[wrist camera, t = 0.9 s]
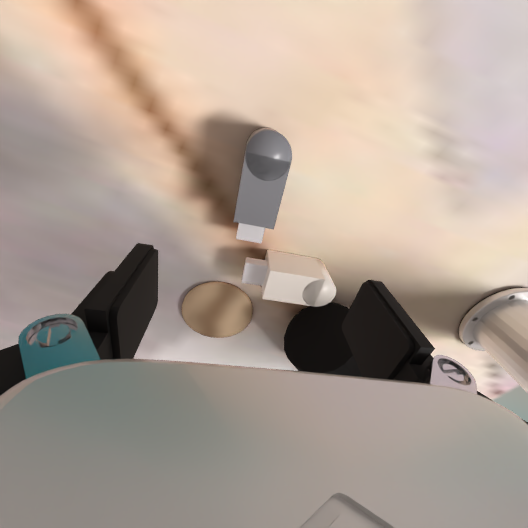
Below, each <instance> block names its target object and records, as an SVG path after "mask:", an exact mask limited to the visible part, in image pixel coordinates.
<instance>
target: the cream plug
mask: <svg viewBox="0 0 528 528" xmlns="http://www.w3.org/2000/svg"><path fill="white" fill-rule="evenodd" d="M242 283H247V284H254V285H260V286H261V287H262V299H266V300H273V301H280V302H287V303H294V304H300V305H307V306H315V307H319V306H324V305H326V304H328V303H330V302H331V301H332V300H333V299H334V297H335V295H336V287H335V285H334V283H333V281H332V279H331V277H330V275H329V273H328V271H327V269H326V267H325V265H324V263H323V262H322V261H321V260H320V259H318V258H313V257H308V256H302V255H296V254H291V253H285V252H279V251H273V250H268V249H267V253H266V257H265V260H261V259H255V258H249V257H246V260H245V264H244V269H243V274H242Z"/></svg>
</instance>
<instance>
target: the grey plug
mask: <svg viewBox="0 0 528 528" xmlns="http://www.w3.org/2000/svg"><path fill="white" fill-rule="evenodd" d="M291 160H292V151H291V147H290V144H289V142H288V141H287V140H286V138H285V137H284V136H283V135H281V134H280V133H278V132H277V131H275V130H273V129H271V128H260V129H258V130H256V131H254V132H253V133H252V134H251V135H250V137H249V139H248V141H247V144H246V149H245V155H244V161H243V167H242V173H241V179H240V185H239V190H238V196H237V202H236V208H235V216H234V222H237V223H239V224H238V229H237V236H236V239H240V240H245V241H251V242H256V243H262V239H263V235H264V230H265V228H269V229H274V226H275V222H276V218H277V214H278V211H279V207H280V203H281V199H282V195H283V191H284V188H285V184H286V180H287V176H288V172H289V169H290V165H291Z"/></svg>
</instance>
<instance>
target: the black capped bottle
mask: <svg viewBox="0 0 528 528" xmlns="http://www.w3.org/2000/svg"><path fill="white" fill-rule="evenodd" d="M348 311H349V309H348V308H347V307H344V306H342V305H340V304H337V303H331V302H330V303H328V304H326V305H324V306H319V307H315V306H309V307H307V308H305V309H303V310H302V311H300V312H299V313H298V314H297V315H296V316H295V317H294V318H293V319H292V321H291V322H290V323H289V325H288V328H287V330H286V333H285V336H284V350H285V353H286V355H287V357H288V359H289V360H290V361H291V363H292V364H293V365H294V366H295V367H296V368H297V369H298V371H301V372H313V373H324V374H335V375H346V376H356V377H362V374H361V372H360V370H359V368H358V365H357V363H356V361H355V358H354V356H353V354H352V352H351V349H350V347H349V345H348V342H347V340H346V338H345V336H344V333H343V331H342V323H343V321H344V319H345V317H346V315H347V313H348Z"/></svg>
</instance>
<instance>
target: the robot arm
mask: <svg viewBox="0 0 528 528" xmlns="http://www.w3.org/2000/svg"><path fill="white" fill-rule="evenodd" d="M157 302H158V250H156V249H154V247H153V245H147V244H140V243H138V244H136V246H135V247H134V248H133V249H132V251H131V252H130V253H129V254H128V255H127V257H126V258H125V259H124V260H123V262H122V263H121V264H120V265H119V266H118V268H117V269H116V270H115V271H109V272H107V273H106V274H105V275H104V277H103V278H102V279H101V280H100V281H99V282H98V284H97V285H96V286H95V287H94V288H93V289H92V291H91V292H90V293H89V294H88V295H87V296H86V298H85V299H84V300H83V301H82V302H81V303H80V305H79V306H78V307H77V308H76V309H75V310H74V312H73V313H72V314H55V315H50V316H46V317H44V318H41V319H38V320H36V321H35V322H33V323H31V324H29V325H28V326H27V327H26V328H25V329H24V330H23V331H22V332H21V334H20V335H19V341H18V343H19V344H16V345H14V346H11V347H8V348H5V349H3V350H0V528H528V422H526V421H524V420H523V419H521V418H520V417H519V416H517V415H516V414H515V413H513V412H512V411H510V410H508V409H507V408H505V407H503V406H502V405H500V404H498V403H496V402H494V401H492V400H491V399H489V398H488V397H486V396H484V395H483V394H481V393H480V392H478V391H477V386H476V381H475V379H474V377H473V376H472V374H471V373H470V372H469V371H468V370H467V369H466V368H465V367H464V366H463V365H461V364H460V363H459V362H457V361H455V360H454V359H452V358H449V357H447V356H443V355H437V356H435V357H434V358H433V357H432V356H431V355H430V354H431V353H432V352H433V350H434V349H435V348H434V347H433V346H432V344H431V343H430V342H429V341H428V339H427V338H426V337H425V336H424V334H423V333H422V332H421V331H420V329H419V328H418V327H417V326H416V324H415V323H414V322H413V321H412V319H411V318H410V317H409V316H408V314H407V313H406V312H405V311H404V309H403V308H402V307H401V305H400V304H399V303H398V302H397V300H396V299H395V298H394V297H393V295H392V294H391V293H390V292H389V290H388V289H387V288H386V287H385V285H384V284H383V283H382V282H380V281H374V280H368V281H366V282H364V283H363V284H362V286H361V288H360V290H359V292H358V294H357V296H356V298H355V300H354V301H353V303H352V305H351V307H350V309H349V311H348V313H347V315H346V317H345V319H344V321H343V323H342V331H343V333H344V336H345V338H346V340H347V342H348V345H349V347H350V349H351V352H352V354H353V356H354V358H355V361H356V363H357V365H358V368H359V370H360V372H361V374H362V377H356V376H346V375H335V374H324V373H313V372H301V371H290V370H279V369H267V368H255V367H243V366H231V365H219V364H207V363H194V362H181V361H167V360H149V359H133V357H134V355H135V353H136V351H137V349H138V346H139V344H140V342H141V340H142V338H143V335H144V333H145V331H146V329H147V327H148V325H149V322H150V320H151V318H152V316H153V314H154V311H155V309H156V306H157ZM459 337H460V339H461V340H462V341H463V343H464V344H465V345H466V346H468V347H469V348H471V349H474V350H480V351H486V352H487V353H488V354H489V355H490V356H491V357H492V358H493V359H494V360H495V361H496V362H497V363H498V364H499V365H500V366H501V367H502V368H503V369H504V370H505V371H506V372H507V373H508V374H509V375H510V376H511V377H512V378H513V379H514V380H515V381H516V382H517V383H518V384H519V385H520V386H521V387H522V388H523V389H524V390H525V391H526V392H527V393H528V288H514V289H508V290H505V291H501V292H498V293H496V294H494V295H491V296H489V297H488V298H486V299H484V300H482V301H481V302H480V303H478V304H477V305H475V306H474V307H473V308H472V309H471V310H470V311H469V312H468V313H467V314H466V315H465V317H464V318H463V320H462V322H461V324H460V327H459Z"/></svg>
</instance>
